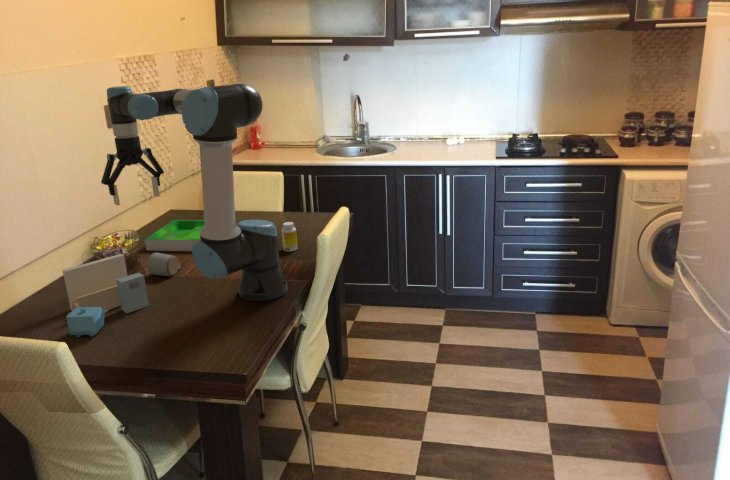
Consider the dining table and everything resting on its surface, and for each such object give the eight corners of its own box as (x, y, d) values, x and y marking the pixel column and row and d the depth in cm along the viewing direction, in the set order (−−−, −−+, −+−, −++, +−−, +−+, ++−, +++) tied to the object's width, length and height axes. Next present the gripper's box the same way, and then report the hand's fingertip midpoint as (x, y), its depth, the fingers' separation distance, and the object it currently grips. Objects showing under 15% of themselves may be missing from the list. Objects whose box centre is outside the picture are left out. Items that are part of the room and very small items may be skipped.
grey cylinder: (169, 279, 209) (166, 258, 206) (148, 278, 211) (145, 256, 209) (186, 268, 218) (184, 248, 216) (166, 267, 221) (163, 246, 218)
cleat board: (140, 299, 194) (133, 260, 190) (82, 318, 183) (73, 277, 178) (128, 291, 200) (121, 253, 196) (70, 309, 189) (62, 269, 185)
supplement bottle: (300, 249, 232) (298, 223, 229) (288, 253, 229) (285, 226, 226) (292, 245, 236) (290, 220, 233) (280, 249, 233) (277, 223, 230)
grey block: (149, 306, 189) (144, 276, 186) (127, 314, 184) (122, 283, 181) (143, 302, 192) (138, 272, 189) (121, 310, 187) (116, 279, 184)
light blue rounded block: (116, 326, 177) (112, 302, 174) (108, 336, 171) (103, 312, 168) (75, 328, 177) (69, 304, 174) (65, 338, 171) (59, 313, 169)
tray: (208, 252, 234) (206, 240, 233) (146, 251, 238) (144, 239, 237) (232, 231, 258) (230, 220, 256) (175, 231, 262) (173, 219, 260)
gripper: (158, 129, 210) (167, 190, 216) (82, 140, 194) (95, 206, 201) (168, 131, 204) (177, 194, 211) (91, 143, 189) (104, 210, 195)
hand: (137, 200), depth 206 cm, fingers open, 13 cm apart
